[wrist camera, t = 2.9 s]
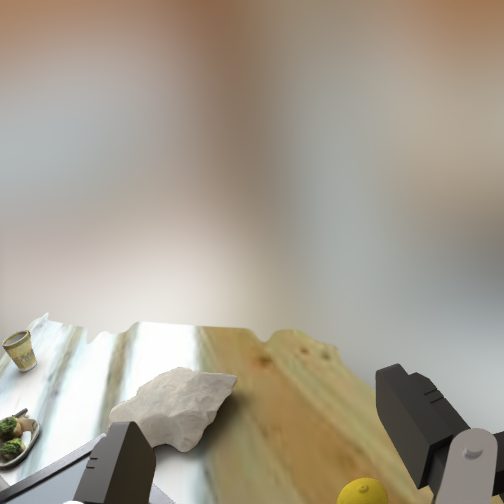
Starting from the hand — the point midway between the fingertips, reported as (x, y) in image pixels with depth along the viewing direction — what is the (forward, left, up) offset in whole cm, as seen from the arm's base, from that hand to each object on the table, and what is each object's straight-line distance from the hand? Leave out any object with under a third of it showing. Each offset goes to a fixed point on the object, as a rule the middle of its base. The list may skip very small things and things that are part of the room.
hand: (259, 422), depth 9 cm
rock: (+12, +37, -30) cm, 49 cm away
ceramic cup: (-6, +97, -30) cm, 102 cm away
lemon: (+11, +2, -30) cm, 32 cm away
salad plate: (-21, +60, -31) cm, 70 cm away
